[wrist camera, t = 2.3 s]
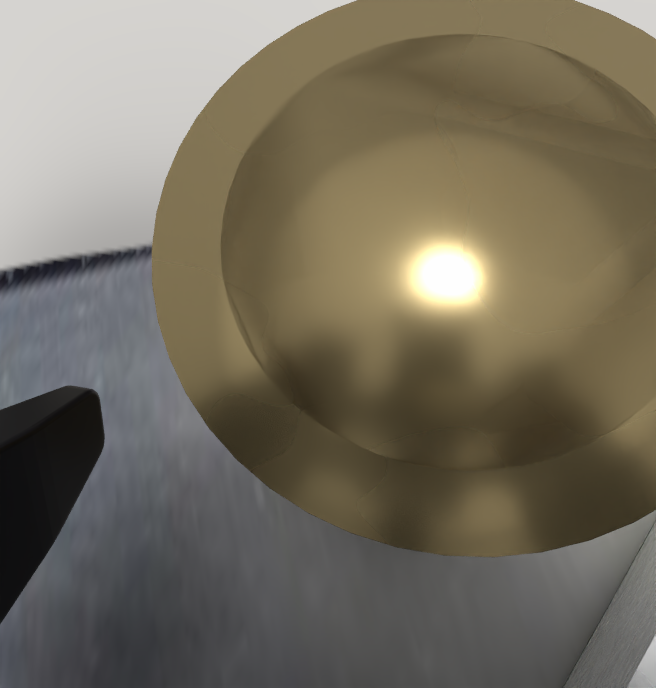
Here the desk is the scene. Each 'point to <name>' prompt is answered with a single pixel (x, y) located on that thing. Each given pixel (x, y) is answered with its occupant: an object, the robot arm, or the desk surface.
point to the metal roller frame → (625, 632)
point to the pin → (427, 271)
